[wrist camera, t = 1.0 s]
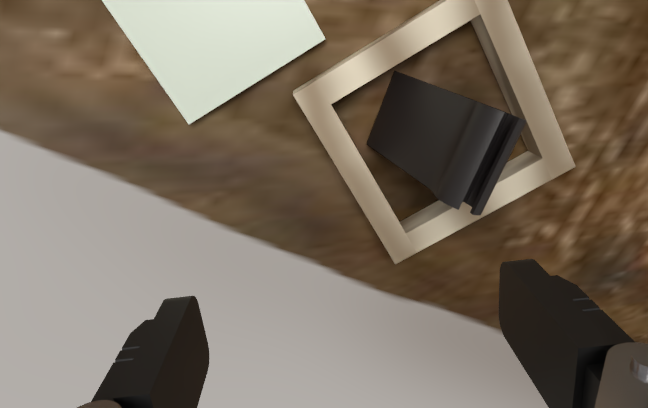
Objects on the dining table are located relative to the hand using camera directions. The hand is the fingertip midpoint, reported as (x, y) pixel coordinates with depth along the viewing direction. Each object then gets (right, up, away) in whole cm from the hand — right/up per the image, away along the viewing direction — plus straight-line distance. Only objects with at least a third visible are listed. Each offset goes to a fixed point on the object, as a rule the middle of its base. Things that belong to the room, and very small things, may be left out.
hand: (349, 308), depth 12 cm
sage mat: (-9, +17, +21) cm, 29 cm away
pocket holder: (+8, +9, +25) cm, 28 cm away
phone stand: (+8, +9, +26) cm, 28 cm away
